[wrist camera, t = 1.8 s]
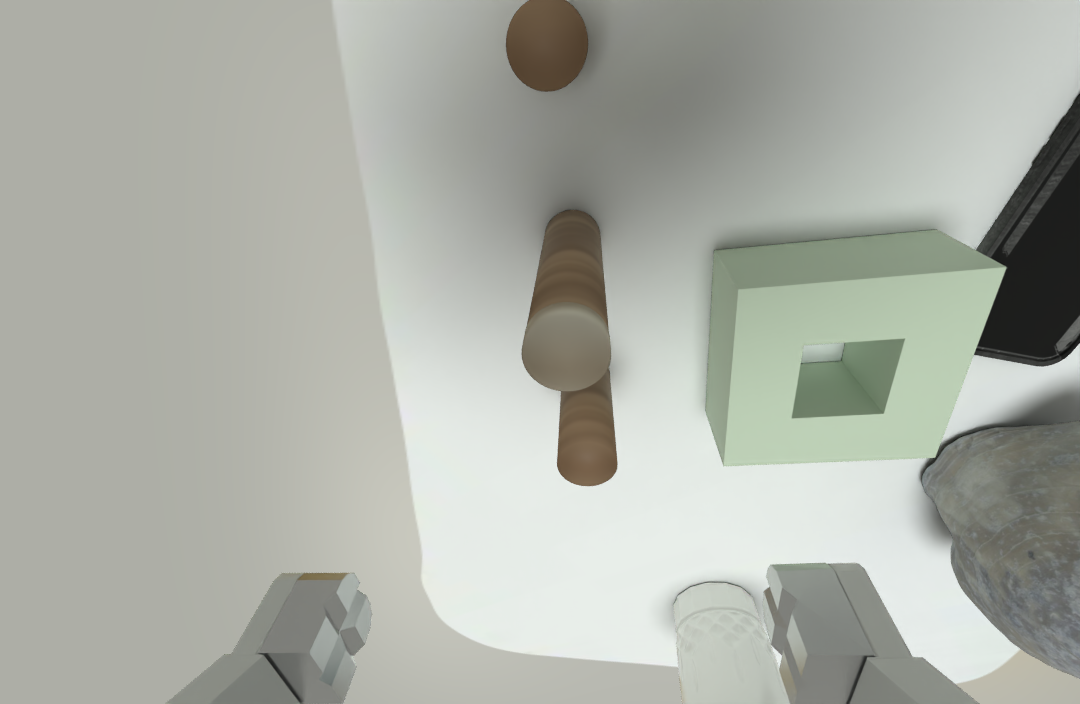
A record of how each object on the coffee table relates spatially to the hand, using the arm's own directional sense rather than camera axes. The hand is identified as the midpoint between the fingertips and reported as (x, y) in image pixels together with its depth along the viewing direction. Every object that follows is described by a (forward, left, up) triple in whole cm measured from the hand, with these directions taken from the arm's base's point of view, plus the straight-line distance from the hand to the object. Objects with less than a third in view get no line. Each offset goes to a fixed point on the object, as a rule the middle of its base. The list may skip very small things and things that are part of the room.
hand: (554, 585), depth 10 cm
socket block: (+7, +13, -20) cm, 25 cm away
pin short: (-9, 0, -21) cm, 22 cm away
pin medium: (+9, 0, -21) cm, 22 cm away
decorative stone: (+19, +27, -21) cm, 39 cm away
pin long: (0, 0, -21) cm, 21 cm away
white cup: (+34, +9, -21) cm, 41 cm away
